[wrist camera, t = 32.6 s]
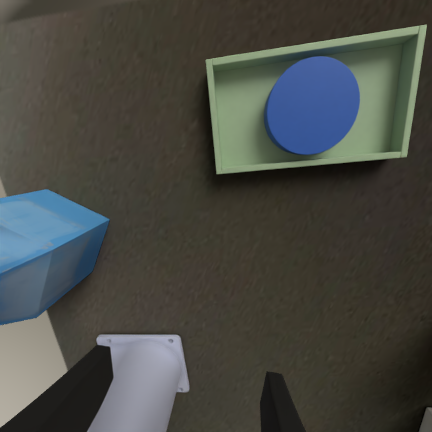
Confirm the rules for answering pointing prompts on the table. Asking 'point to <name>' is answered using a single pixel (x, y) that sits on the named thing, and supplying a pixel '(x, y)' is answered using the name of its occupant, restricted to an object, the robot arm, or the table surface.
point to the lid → (312, 106)
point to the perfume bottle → (44, 251)
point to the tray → (367, 114)
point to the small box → (427, 421)
